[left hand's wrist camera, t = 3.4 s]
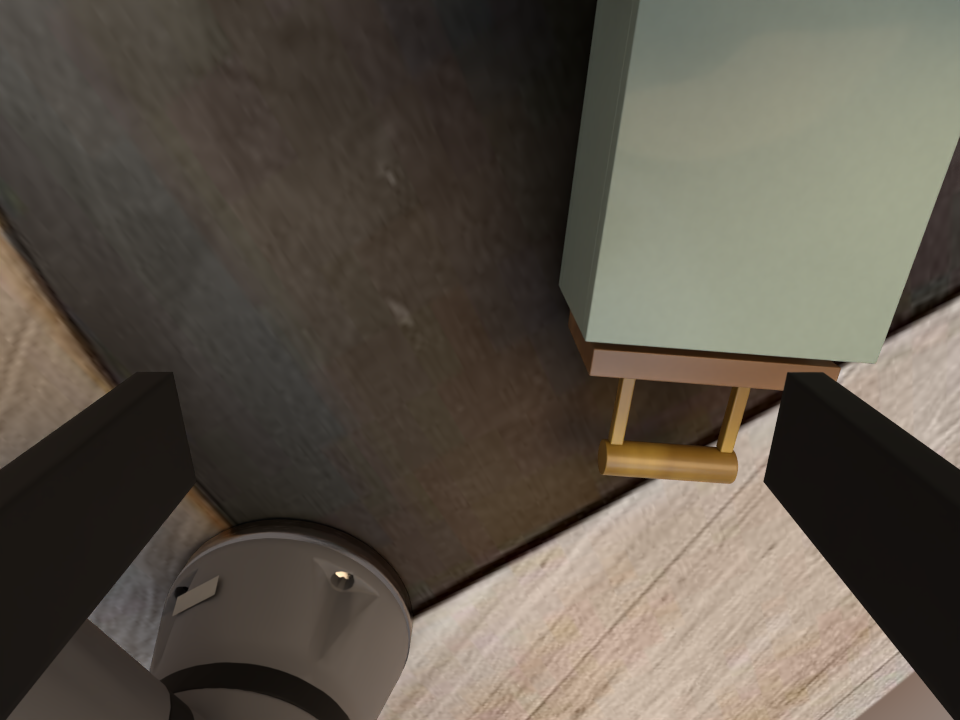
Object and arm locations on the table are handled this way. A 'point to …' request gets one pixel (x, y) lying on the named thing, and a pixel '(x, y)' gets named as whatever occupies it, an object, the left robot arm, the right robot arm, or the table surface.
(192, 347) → the table surface
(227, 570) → the left robot arm
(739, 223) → the cabinet
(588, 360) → the drawer
